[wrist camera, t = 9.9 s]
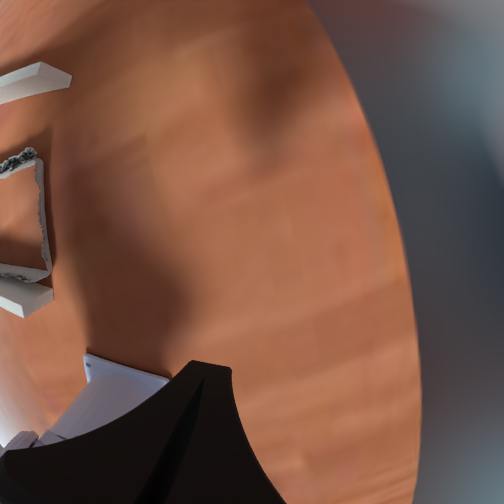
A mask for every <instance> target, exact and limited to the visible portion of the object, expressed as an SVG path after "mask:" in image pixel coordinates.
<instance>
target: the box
mask: <svg viewBox="0 0 504 504" xmlns="http://www.w3.org/2000/svg"><path fill="white" fill-rule="evenodd" d="M71 79H72V75H70V74H67V73H65V72H63V71H61V70H59V69H57V68H55V67H52V66H50V65H48V64H46V63H44V62H38V63H35V64H32V65H29V66H26V67H24V68H21V69H18V70H16V71H13V72H11V73H8V74H6V75H4V76H1V77H0V104H4V103H7V102H10V101H13V100H17V99H20V98H24V97H28V96H32V95H36V94H40V93H44V92H49V91H53V90H58V89H64V88H69V87H70V83H71ZM53 300H54V296H53V289H52V288H49V287H46V286H43V285H40V284H37V283H35V282H33V283H32V282H29V283H26V282H24V281H21V280H20V279H19V278H16V277H15V278H13V276H11V275H10V276H8V277H4V276H1V275H0V307H2V308H4V309H6V310H8V311H10V312H12V313H14V314H16V315H18V316H20V317H22V318H25V317H27V316H28V315H30V314H31V313H33V312H35V311H36V310H38V309H40V308H41V307H43V306H44V305H46V304H48V303H49V302H51V301H53Z"/></svg>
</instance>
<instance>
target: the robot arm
mask: <svg viewBox="0 0 504 504" xmlns="http://www.w3.org/2000/svg"><path fill="white" fill-rule="evenodd" d="M83 361H84V366H85V372H86V377H87V381H88V384H87V386H86V387H85V388H84V389H83V390H82V391H81V393H80V394H79V395H78V396H77V397H76V399H75V400H74V401H73V402H72V403H71V405H70V406H69V407H68V408H67V410H66V411H65V412H64V413H63V414H62V416H61V417H60V418H59V419H58V421H57V422H56V423H55V424H54V426H53V427H52V428H51V429H50V430H49V429H47V430H46V432H45V433H44V434H43V435H42V437H41V438H40V439H39V440H38V438H39V436H38V435H37V434H36V433H35V432H34V431H30V432H29V431H21V432H20V433H18V434H17V435H16V436H15V437H14V438H13V439H12V440H11V441H10V442H9V443H8V444H7V446H6V447H5V448H4V449H3V450H2V452H1V453H0V504H286V502H285V501H284V500H283V499H282V497H281V496H280V494H279V493H278V492H277V490H276V489H275V487H274V486H273V484H272V483H271V482H270V480H269V479H268V477H267V476H266V474H265V472H264V471H263V469H262V467H261V465H260V464H259V462H258V460H257V458H256V456H255V454H254V452H253V450H252V448H251V446H250V444H249V442H248V439H247V437H246V434H245V432H244V429H243V426H242V424H241V421H240V418H239V414H238V411H237V407H236V403H235V399H234V394H233V388H232V370H231V369H230V367H226V366H221V365H215V364H210V363H205V362H200V361H195V360H192V361H190V362H189V363H188V364H187V365H186V366H185V367H184V368H183V369H182V370H181V371H180V372H179V373H178V374H177V375H176V376H174V377H173V378H172V379H171V380H169V379H168V378H165V377H162V376H158V375H154V374H150V373H147V372H143V371H140V370H136V369H133V368H130V367H126V366H123V365H120V364H117V363H114V362H111V361H108V360H105V359H102V358H99V357H96V356H94V355H91V354H85V355H84V356H83Z"/></svg>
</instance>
